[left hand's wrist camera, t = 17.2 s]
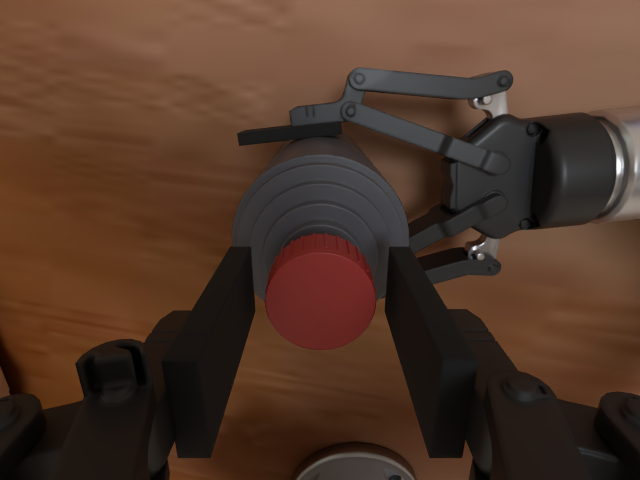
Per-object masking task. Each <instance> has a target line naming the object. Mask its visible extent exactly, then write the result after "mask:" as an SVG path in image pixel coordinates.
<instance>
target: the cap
mask: <svg viewBox="0 0 640 480" xmlns="http://www.w3.org/2000/svg"><path fill="white" fill-rule="evenodd" d="M265 294H266V296H265V306H266V311H267V315H268V317H269V320H270V322H271V323H272V325H273V326H274V328H275V329H276V330H277V332H278V333H279V334H280V335H281V336H283V337H284V338H285V339H287V340H288V341H290V342H291V343H293V344H296V345H298V346H301V347H304V348H308V349H315V350H327V349H333V348H338V347H341V346H343V345H346V344H348V343H350V342H351V341H353V340H355V339H356V338H357V337H359V336H360V335H361V334H362V333H363V332H364V331H365V330H366V328H367V327H368V325H369V324H370V322H371V320H372V318H373V315H374V313H375V308H376V289H375V285H374V279H373V276H372V273H371V269H370V266H369V264H367V262H366V258H365V255H362V254H361V252H360V251H359V249H358V247H357V246H356V247H355V246H354V245H352V244H351V243H350V242H349V240H347V241H346V240H344V239H342V238H340V237H339V236H338V235H336V236H333V235H328V234H327V233H325V234H315V233H313V235H308V236H301V238H299V239H297V240H295V241H293V240H292V241H291V243H290V244H289V245H287V246H286V247H285V248H284V247H283V248H282V251H281V253H280V254H279V255H278V256H276V257H275V261H274V265H272V266H271V270H270V273H269V276H268V280H267V287H266V290H265Z"/></svg>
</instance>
